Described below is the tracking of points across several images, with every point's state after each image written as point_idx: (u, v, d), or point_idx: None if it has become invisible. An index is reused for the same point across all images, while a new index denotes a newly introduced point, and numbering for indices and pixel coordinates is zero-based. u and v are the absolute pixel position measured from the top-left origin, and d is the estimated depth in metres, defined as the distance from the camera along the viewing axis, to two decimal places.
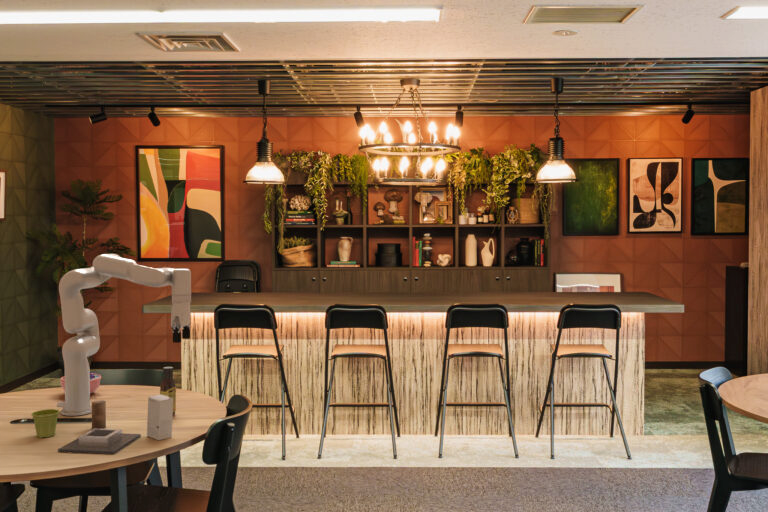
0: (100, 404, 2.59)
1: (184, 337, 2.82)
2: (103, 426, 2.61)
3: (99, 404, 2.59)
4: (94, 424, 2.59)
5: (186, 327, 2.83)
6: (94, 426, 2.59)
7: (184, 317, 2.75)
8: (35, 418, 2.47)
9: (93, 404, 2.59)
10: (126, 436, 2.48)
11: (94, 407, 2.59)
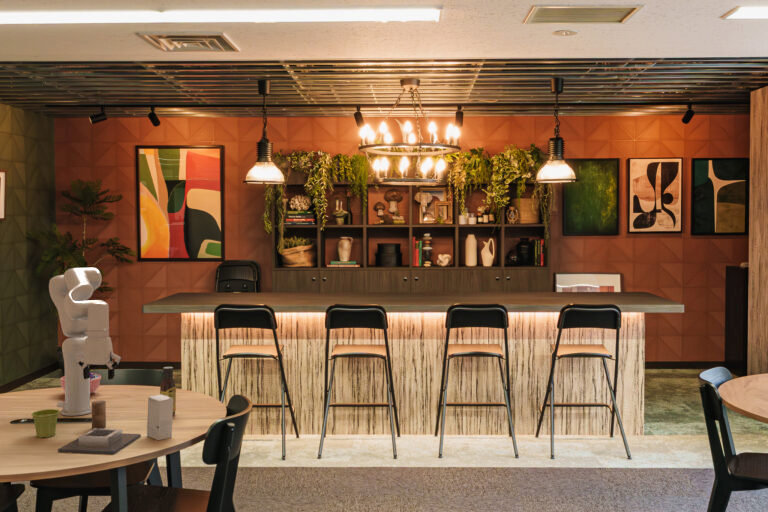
0: (100, 404, 2.59)
1: (87, 377, 2.61)
2: (103, 426, 2.61)
3: (99, 404, 2.59)
4: (94, 424, 2.59)
5: (86, 366, 2.61)
6: (94, 426, 2.59)
7: None
8: (35, 418, 2.47)
9: (93, 404, 2.59)
10: (126, 436, 2.48)
11: (94, 407, 2.59)
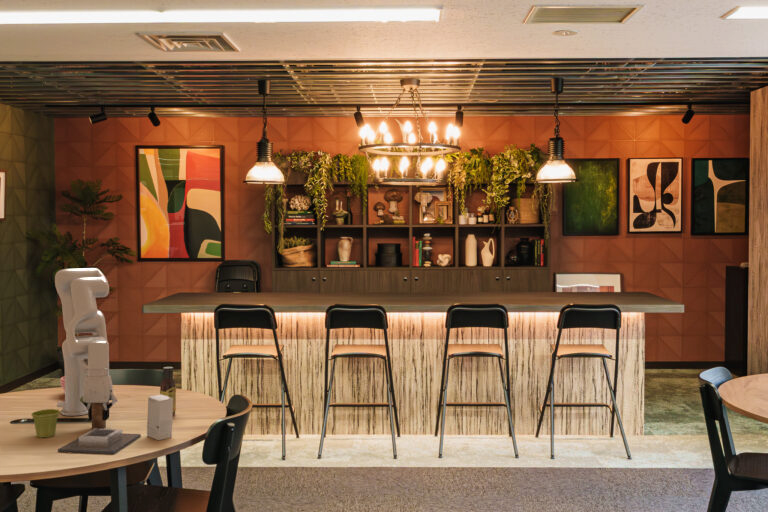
0: (100, 404, 2.59)
1: (91, 418, 2.61)
2: (103, 426, 2.61)
3: (99, 404, 2.59)
4: (94, 424, 2.59)
5: (91, 406, 2.62)
6: (94, 426, 2.59)
7: None
8: (35, 418, 2.47)
9: (93, 404, 2.59)
10: (126, 436, 2.48)
11: (94, 407, 2.59)
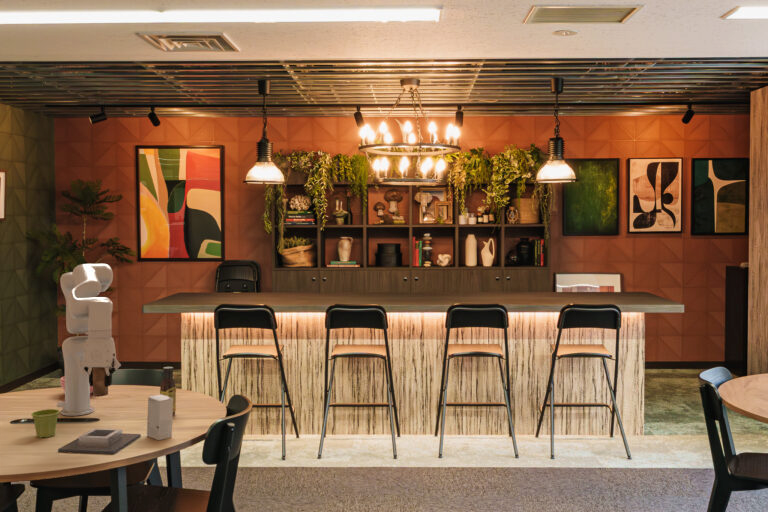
0: (102, 369, 2.39)
1: None
2: (105, 393, 2.40)
3: (101, 369, 2.39)
4: (95, 390, 2.39)
5: (92, 372, 2.41)
6: (95, 392, 2.39)
7: None
8: (35, 418, 2.47)
9: (94, 369, 2.39)
10: (126, 436, 2.48)
11: (96, 372, 2.38)
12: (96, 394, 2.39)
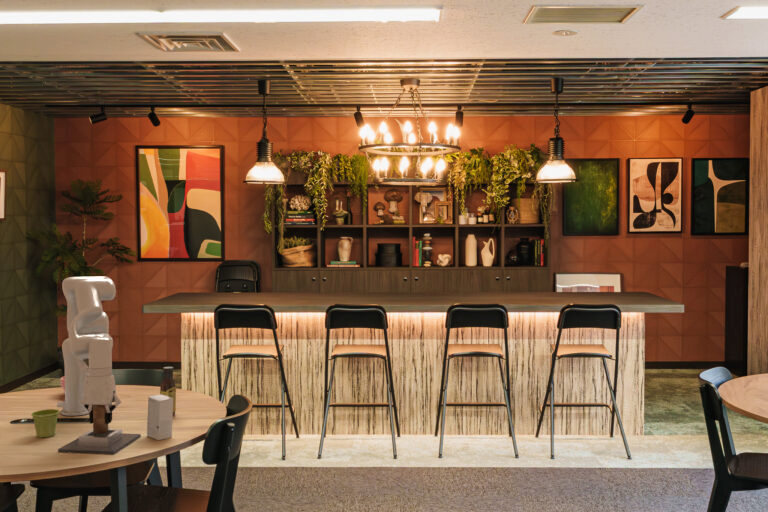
0: (102, 406, 2.39)
1: None
2: (105, 430, 2.40)
3: (101, 406, 2.39)
4: (96, 428, 2.39)
5: None
6: (96, 430, 2.39)
7: None
8: (35, 418, 2.47)
9: (95, 406, 2.39)
10: (126, 436, 2.48)
11: (96, 410, 2.39)
12: (96, 431, 2.39)
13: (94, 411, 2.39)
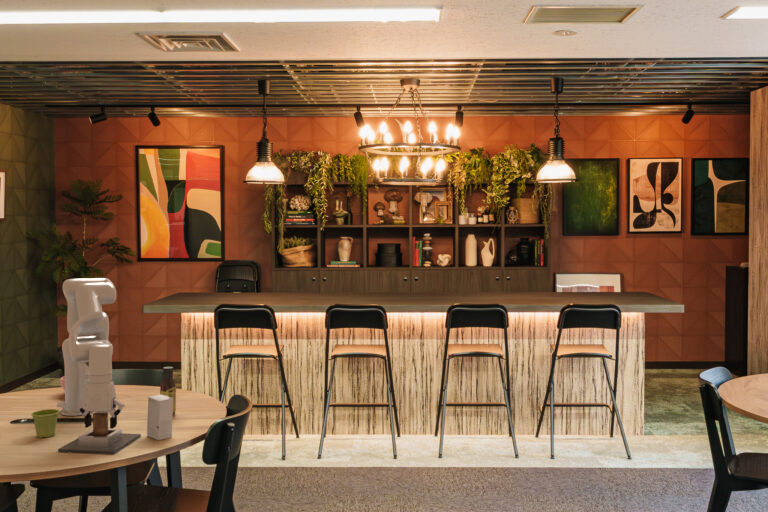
0: (102, 416, 2.39)
1: (88, 425, 2.41)
2: None
3: (101, 416, 2.39)
4: None
5: (88, 413, 2.42)
6: None
7: None
8: (35, 418, 2.47)
9: (94, 416, 2.39)
10: (126, 436, 2.48)
11: (96, 419, 2.39)
12: None
13: (94, 421, 2.39)
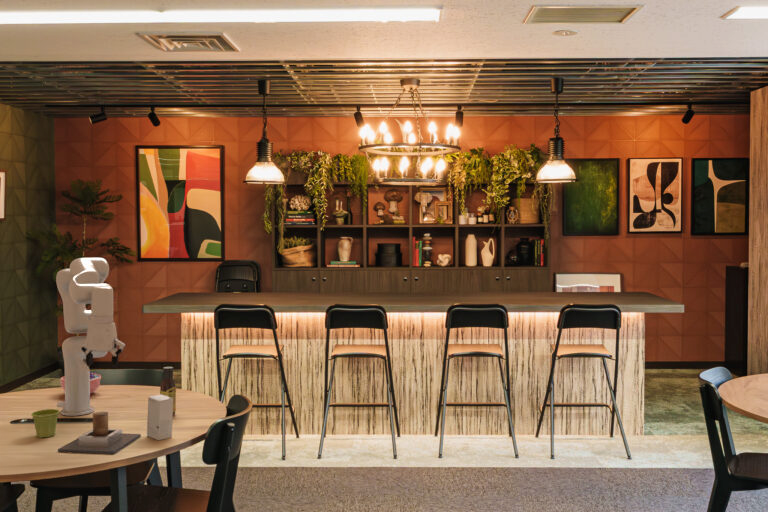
0: (102, 416, 2.39)
1: (90, 363, 2.51)
2: None
3: (101, 416, 2.39)
4: None
5: (90, 352, 2.51)
6: None
7: None
8: (35, 418, 2.47)
9: (94, 416, 2.39)
10: (126, 436, 2.48)
11: (96, 419, 2.39)
12: None
13: (94, 421, 2.39)
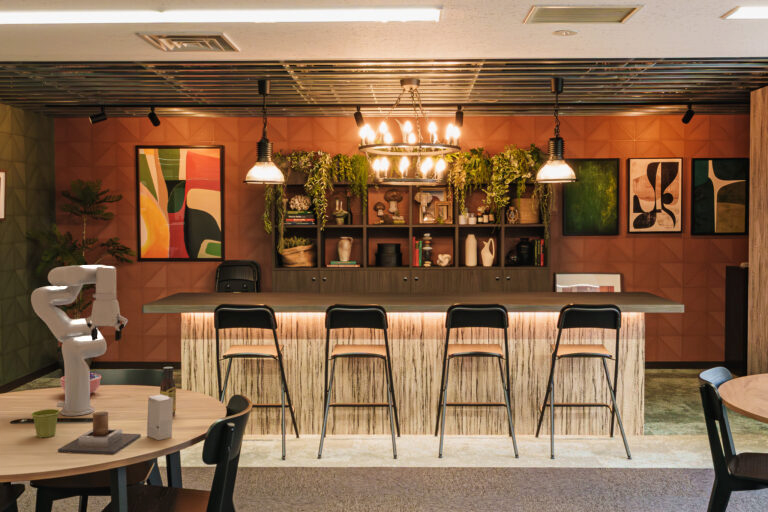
0: (102, 416, 2.39)
1: (95, 338, 2.71)
2: None
3: (101, 416, 2.39)
4: None
5: (94, 328, 2.71)
6: None
7: None
8: (35, 418, 2.47)
9: (94, 416, 2.39)
10: (126, 436, 2.48)
11: (96, 419, 2.39)
12: None
13: (94, 421, 2.39)
